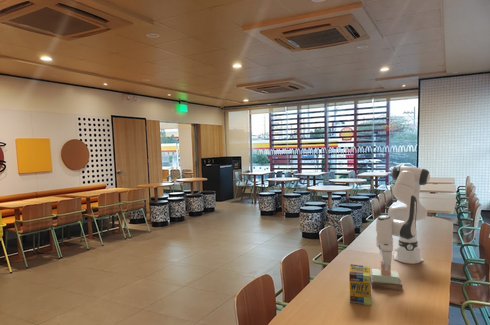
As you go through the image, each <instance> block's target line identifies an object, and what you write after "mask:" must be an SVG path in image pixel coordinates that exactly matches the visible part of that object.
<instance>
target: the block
mask: <svg viewBox="0 0 490 325" xmlns="http://www.w3.org/2000/svg"><path fill="white" fill-rule="evenodd" d="M379 262H380V263H379V267H380V272H381V275H391V270H392V268H391V266H392V264H391V265H389V267H388V271H386V270H385V265H384V263H383V261H382V260H381V261H379Z"/></svg>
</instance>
